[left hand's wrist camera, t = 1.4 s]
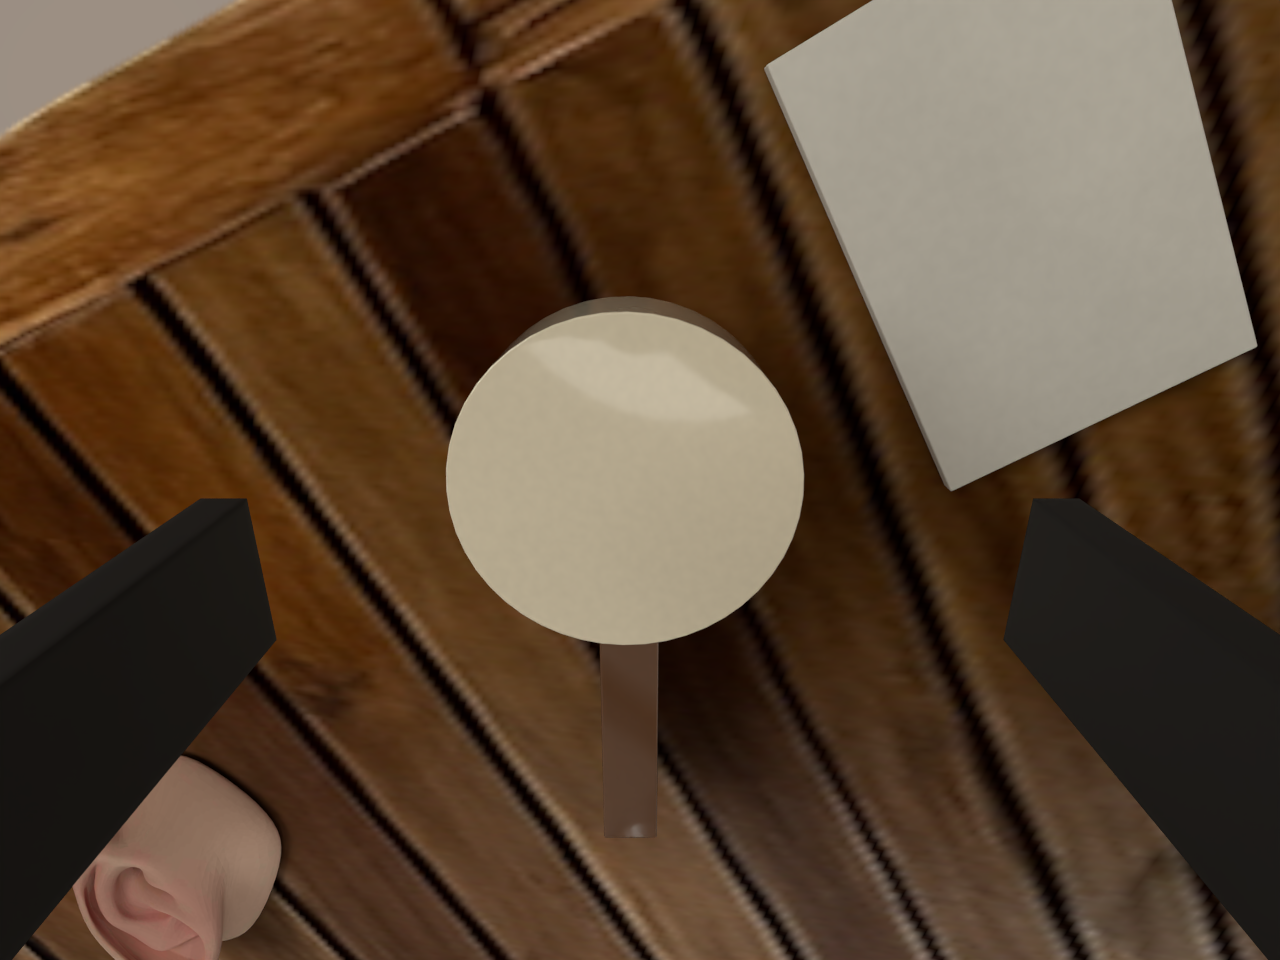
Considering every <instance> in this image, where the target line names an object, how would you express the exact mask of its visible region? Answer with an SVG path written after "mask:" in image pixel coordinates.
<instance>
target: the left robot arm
mask: <svg viewBox="0 0 1280 960" xmlns="http://www.w3.org/2000/svg"><path fill="white" fill-rule="evenodd" d="M275 641H276V635H275V630H274V626H273V621H272V616H271V611H270V607H269V602H268V597H267V592H266V588H265V583H264V578H263V574H262V569H261V564H260V559H259V555H258V550H257V545H256V540H255V536H254V531H253V526H252V521H251V517H250V512H249V507H248V503H247V499H199V500H198V501H197V502H195V503H194V504H192V505H191V506H189V507H188V508H186V509H185V510H183V511H182V512H180V513H179V514H177V515H176V516H174V517H173V518H172V519H170V520H169V521H167V522H166V523H164V524H163V525H161V526H160V527H158V528H157V529H155V530H154V531H152V532H151V533H149V534H148V535H146V536H145V537H144V538H142V539H141V540H139V541H138V542H136V543H135V544H133V545H132V546H130V547H129V548H127V549H126V550H124V551H123V552H121V553H120V554H119V555H117V556H116V557H114V558H113V559H111V560H110V561H108V562H107V563H105V564H104V565H102V566H101V567H99V568H98V569H96V570H95V571H94V572H92V573H91V574H89V575H88V576H86V577H85V578H83V579H82V580H80V581H79V582H77V583H76V584H74V585H73V586H71V587H70V588H69V589H67V590H66V591H64V592H63V593H61V594H60V595H58V596H57V597H55V598H54V599H52V600H51V601H49V602H48V603H46V604H45V605H43V606H42V607H41V608H39V609H38V610H36V611H35V612H33V613H32V614H30V615H29V616H27V617H26V618H24V619H23V620H21V621H20V622H18V623H17V624H16V625H14V626H13V627H11V628H10V629H8V630H7V631H5V632H4V633H2V634H1V635H0V960H12V959H13V958H14V956H15V955H16V954H17V953H18V952H19V950H20V949H21V948H22V947H23V946H24V944H25V943H26V942H27V941H28V940H29V938H30V937H31V936H32V935H33V934H34V932H35V931H36V930H37V929H38V927H39V926H40V925H41V924H42V923H43V921H44V920H45V919H46V918H47V917H48V915H49V914H50V913H51V912H52V911H53V909H54V908H55V907H56V906H57V904H58V903H59V902H60V901H61V900H62V898H63V897H64V896H65V895H66V894H67V892H68V891H69V890H70V889H71V888H72V886H73V885H74V884H75V883H76V882H77V880H78V879H79V878H80V877H81V875H82V874H83V873H84V872H85V871H86V869H87V868H88V867H89V866H90V865H91V863H92V862H93V861H94V860H95V859H96V857H97V856H98V855H99V854H100V852H101V851H102V850H103V849H104V848H105V846H106V845H107V844H108V843H109V842H110V840H111V839H112V838H113V837H114V836H115V834H116V833H117V832H118V831H119V830H120V828H121V827H122V826H123V825H124V823H125V822H126V821H127V820H128V819H129V817H130V816H131V815H132V814H133V813H134V811H135V810H136V809H137V808H138V807H139V805H140V804H141V803H142V802H143V800H144V799H145V798H146V797H147V796H148V794H149V793H150V792H151V791H152V790H153V788H154V787H155V786H156V785H157V784H158V782H159V781H160V780H161V779H162V778H163V776H164V775H165V774H166V773H167V771H168V770H169V769H170V768H171V767H172V765H173V764H174V763H175V762H176V761H177V759H178V758H179V757H180V756H181V755H182V753H183V752H184V751H185V750H186V748H187V747H188V746H189V745H190V744H191V742H192V741H193V740H194V739H195V738H196V736H197V735H198V734H199V733H200V732H201V730H202V729H203V728H204V727H205V726H206V724H207V723H208V722H209V721H210V719H211V718H212V717H213V716H214V715H215V713H216V712H217V711H218V710H219V709H220V707H221V706H222V705H223V704H224V703H225V701H226V700H227V699H228V698H229V697H230V695H231V694H232V693H233V692H234V690H235V689H236V688H237V687H238V686H239V684H240V683H241V682H242V681H243V680H244V678H245V677H246V676H247V675H248V674H249V672H250V671H251V670H252V669H253V667H254V666H255V665H256V664H257V663H258V661H259V660H260V659H261V658H262V657H263V655H264V654H265V653H266V652H267V651H268V649H269V648H270V647H271V646H272V645H273V643H274V642H275ZM1004 641H1005V642H1006V643H1007V645H1008V646H1009V647H1010V648H1011V649H1012V651H1013V652H1014V653H1015V654H1016V655H1017V657H1018V658H1019V659H1020V660H1021V661H1022V663H1023V664H1024V665H1025V666H1026V667H1027V669H1028V670H1029V671H1030V672H1031V674H1032V675H1033V676H1034V677H1035V678H1036V680H1037V681H1038V682H1039V683H1040V684H1041V686H1042V687H1043V688H1044V689H1045V690H1046V692H1047V693H1048V694H1049V695H1050V697H1051V698H1052V699H1053V700H1054V701H1055V703H1056V704H1057V705H1058V706H1059V707H1060V709H1061V710H1062V711H1063V712H1064V713H1065V715H1066V716H1067V717H1068V718H1069V719H1070V721H1071V722H1072V723H1073V724H1074V726H1075V727H1076V728H1077V729H1078V730H1079V732H1080V733H1081V734H1082V735H1083V736H1084V738H1085V739H1086V740H1087V741H1088V742H1089V744H1090V745H1091V746H1092V747H1093V748H1094V750H1095V751H1096V752H1097V753H1098V755H1099V756H1100V757H1101V758H1102V759H1103V761H1104V762H1105V763H1106V764H1107V765H1108V767H1109V768H1110V769H1111V770H1112V771H1113V773H1114V774H1115V775H1116V776H1117V778H1118V779H1119V780H1120V781H1121V782H1122V784H1123V785H1124V786H1125V787H1126V788H1127V790H1128V791H1129V792H1130V793H1131V794H1132V796H1133V797H1134V798H1135V799H1136V800H1137V802H1138V803H1139V804H1140V805H1141V807H1142V808H1143V809H1144V810H1145V811H1146V813H1147V814H1148V815H1149V816H1150V817H1151V819H1152V820H1153V821H1154V822H1155V823H1156V825H1157V826H1158V827H1159V828H1160V830H1161V831H1162V832H1163V833H1164V834H1165V836H1166V837H1167V838H1168V839H1169V840H1170V842H1171V843H1172V844H1173V845H1174V846H1175V848H1176V849H1177V850H1178V851H1179V852H1180V854H1181V855H1182V856H1183V857H1184V859H1185V860H1186V861H1187V862H1188V863H1189V865H1190V866H1191V867H1192V868H1193V869H1194V871H1195V872H1196V873H1197V874H1198V875H1199V877H1200V878H1201V879H1202V880H1203V882H1204V883H1205V884H1206V885H1207V886H1208V888H1209V889H1210V890H1211V891H1212V892H1213V894H1214V895H1215V896H1216V897H1217V898H1218V900H1219V901H1220V902H1221V903H1222V904H1223V906H1224V907H1225V908H1226V909H1227V911H1228V912H1229V913H1230V914H1231V915H1232V917H1233V918H1234V919H1235V920H1236V921H1237V923H1238V924H1239V925H1240V926H1241V927H1242V929H1243V930H1244V931H1245V932H1246V934H1247V935H1248V936H1249V937H1250V938H1251V940H1252V941H1253V942H1254V943H1255V944H1256V946H1257V947H1258V948H1259V949H1260V950H1261V952H1262V953H1263V954H1264V955H1265V956H1266V958H1267V959H1268V960H1280V635H1279V634H1278V633H1276V632H1275V631H1273V630H1272V629H1270V628H1269V627H1267V626H1266V625H1264V624H1263V623H1262V622H1260V621H1259V620H1257V619H1256V618H1254V617H1253V616H1251V615H1250V614H1248V613H1247V612H1245V611H1244V610H1242V609H1241V608H1239V607H1238V606H1237V605H1235V604H1234V603H1232V602H1231V601H1229V600H1228V599H1226V598H1225V597H1223V596H1222V595H1220V594H1219V593H1217V592H1216V591H1214V590H1213V589H1211V588H1210V587H1209V586H1207V585H1206V584H1204V583H1203V582H1201V581H1200V580H1198V579H1197V578H1195V577H1194V576H1192V575H1191V574H1189V573H1188V572H1186V571H1185V570H1184V569H1182V568H1181V567H1179V566H1178V565H1176V564H1175V563H1173V562H1172V561H1170V560H1169V559H1167V558H1166V557H1164V556H1163V555H1161V554H1160V553H1159V552H1157V551H1156V550H1154V549H1153V548H1151V547H1150V546H1148V545H1147V544H1145V543H1144V542H1142V541H1141V540H1139V539H1138V538H1136V537H1135V536H1134V535H1132V534H1131V533H1129V532H1128V531H1126V530H1125V529H1123V528H1122V527H1120V526H1119V525H1117V524H1116V523H1114V522H1113V521H1111V520H1110V519H1108V518H1107V517H1106V516H1104V515H1103V514H1101V513H1100V512H1098V511H1097V510H1095V509H1094V508H1092V507H1091V506H1089V505H1088V504H1086V503H1085V502H1083V501H1082V500H1081V499H1033V503H1032V507H1031V512H1030V517H1029V521H1028V526H1027V531H1026V536H1025V540H1024V545H1023V550H1022V555H1021V559H1020V564H1019V569H1018V574H1017V578H1016V583H1015V588H1014V592H1013V597H1012V602H1011V607H1010V611H1009V616H1008V621H1007V626H1006V630H1005V635H1004Z"/></svg>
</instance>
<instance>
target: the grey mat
mask: <svg viewBox="0 0 1280 960" xmlns="http://www.w3.org/2000/svg"><path fill="white" fill-rule="evenodd" d="M764 69H765V72H766V74H767V77H768V79H769V81H770V84H771V86H772V88H773V91H774V93H775V95H776V98H777V100H778V102H779V104H780V107H781V109H782V111H783V114H784V116H785V118H786V121H787V123H788V125H789V128H790V130H791V132H792V134H793V137H794V139H795V141H796V144H797V146H798V148H799V151H800V153H801V155H802V158H803V160H804V162H805V164H806V167H807V169H808V171H809V174H810V176H811V178H812V181H813V183H814V185H815V188H816V190H817V192H818V195H819V197H820V199H821V201H822V204H823V206H824V208H825V211H826V213H827V215H828V218H829V220H830V222H831V225H832V227H833V229H834V231H835V234H836V236H837V238H838V241H839V243H840V245H841V248H842V250H843V252H844V255H845V257H846V259H847V261H848V264H849V266H850V268H851V271H852V273H853V275H854V278H855V280H856V282H857V285H858V287H859V289H860V291H861V294H862V296H863V298H864V301H865V303H866V305H867V308H868V310H869V312H870V315H871V317H872V319H873V321H874V324H875V326H876V328H877V331H878V333H879V335H880V338H881V340H882V342H883V345H884V347H885V349H886V351H887V354H888V356H889V358H890V361H891V363H892V365H893V368H894V370H895V372H896V375H897V377H898V379H899V381H900V384H901V386H902V388H903V391H904V393H905V395H906V398H907V400H908V402H909V405H910V407H911V409H912V411H913V414H914V416H915V418H916V421H917V423H918V425H919V428H920V430H921V432H922V435H923V437H924V439H925V441H926V444H927V446H928V448H929V451H930V453H931V455H932V458H933V460H934V462H935V465H936V467H937V469H938V471H939V474H940V476H941V478H942V481H943V483H944V485H945V486H946V487H947V488H948V489H949V490H950V491H953V490H955V489H957V488H960V487H962V486H964V485H966V484H968V483H970V482H972V481H974V480H976V479H979V478H981V477H983V476H985V475H987V474H989V473H991V472H993V471H995V470H998V469H1000V468H1002V467H1004V466H1006V465H1008V464H1010V463H1012V462H1014V461H1017V460H1019V459H1021V458H1023V457H1025V456H1027V455H1029V454H1031V453H1034V452H1036V451H1038V450H1040V449H1042V448H1044V447H1046V446H1048V445H1050V444H1053V443H1055V442H1057V441H1059V440H1061V439H1063V438H1065V437H1067V436H1069V435H1072V434H1074V433H1076V432H1078V431H1080V430H1082V429H1084V428H1086V427H1088V426H1091V425H1093V424H1095V423H1097V422H1099V421H1101V420H1103V419H1105V418H1107V417H1110V416H1112V415H1114V414H1116V413H1118V412H1120V411H1122V410H1124V409H1126V408H1129V407H1131V406H1133V405H1135V404H1137V403H1139V402H1141V401H1143V400H1146V399H1148V398H1150V397H1152V396H1154V395H1156V394H1158V393H1160V392H1162V391H1165V390H1167V389H1169V388H1171V387H1173V386H1175V385H1177V384H1179V383H1181V382H1184V381H1186V380H1188V379H1190V378H1192V377H1194V376H1196V375H1198V374H1200V373H1203V372H1205V371H1207V370H1209V369H1211V368H1213V367H1215V366H1217V365H1219V364H1222V363H1224V362H1226V361H1228V360H1230V359H1232V358H1234V357H1236V356H1239V355H1241V354H1243V353H1245V352H1247V351H1249V350H1251V349H1253V348H1255V347H1257V342H1256V338H1255V334H1254V330H1253V326H1252V322H1251V318H1250V314H1249V310H1248V306H1247V302H1246V298H1245V294H1244V290H1243V286H1242V282H1241V278H1240V274H1239V270H1238V266H1237V262H1236V258H1235V254H1234V250H1233V246H1232V242H1231V238H1230V233H1229V229H1228V225H1227V221H1226V217H1225V213H1224V209H1223V205H1222V201H1221V197H1220V193H1219V189H1218V185H1217V181H1216V177H1215V173H1214V169H1213V165H1212V161H1211V157H1210V153H1209V149H1208V145H1207V141H1206V137H1205V133H1204V129H1203V125H1202V121H1201V117H1200V113H1199V109H1198V105H1197V100H1196V96H1195V92H1194V88H1193V84H1192V80H1191V76H1190V72H1189V68H1188V64H1187V60H1186V56H1185V52H1184V48H1183V44H1182V40H1181V36H1180V32H1179V28H1178V24H1177V20H1176V16H1175V12H1174V8H1173V4H1172V0H872V1H871V2H869V3H867V4H866V5H864V6H862V7H861V8H859V9H858V10H856V11H854V12H853V13H851V14H849V15H848V16H846V17H844V18H843V19H841V20H840V21H838V22H836V23H835V24H833V25H831V26H830V27H828V28H826V29H825V30H823V31H822V32H820V33H818V34H817V35H815V36H813V37H812V38H810V39H808V40H807V41H805V42H803V43H802V44H800V45H799V46H797V47H795V48H794V49H792V50H790V51H789V52H787V53H785V54H784V55H782V56H781V57H779V58H777V59H776V60H774V61H772V62H771V63H769V64H768V65H767V66H766V67H765V68H764Z"/></svg>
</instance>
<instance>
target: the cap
mask: <svg viewBox="0 0 1280 960" xmlns="http://www.w3.org/2000/svg"><path fill="white" fill-rule="evenodd" d="M446 491H447V497H448V504H449V510H450V514H451V517H452V521H453V524H454V527H455V531H456V533H457V536H458V538H459V540H460V542H461V544H462V547H463V549H464V551H465V553H466V554H467V556H468V558H469V559H470V561H471V562H472V564H473V566H474V567H475V569H476V570H477V572H478V573H479V574H480V575H481V577H482V578H483V579H484V580H485V581H486V583H487V584H488V585H489V586H490V587H491V588H492V589H493V590H494V591H495V592H496V593H497V594H498V595H499V596H500V597H501V598H502V599H503V600H504V601H505V602H507V603H508V604H509V605H511V606H512V607H513V608H515V609H516V610H517V611H519V612H520V613H521V614H523V615H525V616H526V617H528V618H530V619H531V620H533V621H535V622H537V623H538V624H540V625H542V626H544V627H547V628H549V629H551V630H554V631H556V632H558V633H561V634H564V635H567V636H571V637H574V638H577V639H580V640H586V641H591V642H596V643H602V644H615V645H638V644H650V643H656V642H663V641H668V640H671V639H675V638H679V637H682V636H686V635H689V634H691V633H694V632H696V631H699V630H701V629H704V628H706V627H708V626H710V625H712V624H714V623H716V622H717V621H719V620H721V619H723V618H725V617H726V616H728V615H729V614H731V613H732V612H733V611H735V610H736V609H738V608H739V607H741V606H742V605H743V604H744V603H745V602H746V601H748V600H749V599H750V598H751V597H752V596H753V595H754V594H755V593H756V592H757V591H759V589H760V588H761V587H762V586H763V585H764V584H765V582H766V581H767V580H768V579H769V578H770V577H771V575H772V574H773V572H774V571H775V569H776V568H777V566H778V565H779V563H780V562H781V560H782V559H783V557H784V555H785V553H786V551H787V549H788V547H789V545H790V543H791V541H792V539H793V536H794V533H795V530H796V527H797V524H798V521H799V518H800V513H801V507H802V501H803V496H804V467H803V457H802V450H801V446H800V442H799V438H798V434H797V430H796V428H795V425H794V423H793V421H792V418H791V416H790V413H789V411H788V409H787V407H786V405H785V404H784V402H783V400H782V398H781V397H780V395H779V393H778V392H777V390H776V388H775V387H774V386H773V384H772V383H771V381H770V380H769V379H768V377H767V376H766V374H765V373H764V372H763V370H762V369H761V367H760V366H759V365H758V363H757V362H756V361H755V360H754V358H753V357H752V356H751V355H750V353H749V352H748V351H747V350H746V348H745V347H744V346H743V345H742V344H740V343H739V342H738V341H737V340H736V339H735V338H734V337H733V336H732V335H731V334H730V333H729V332H727V331H726V330H724V329H723V328H722V327H720V326H719V325H718V324H716V323H715V322H713V321H712V320H710V319H708V318H706V317H704V316H702V315H700V314H699V313H697V312H695V311H693V310H690V309H687V308H685V307H682V306H679V305H677V304H674V303H670V302H666V301H661V300H657V299H652V298H642V297H630V296H626V297H607V298H601V299H596V300H590V301H585V302H582V303H579V304H576V305H573V306H570V307H567V308H564V309H562V310H560V311H558V312H556V313H554V314H552V315H550V316H548V317H546V318H544V319H542V320H541V321H539V322H538V323H536V324H535V325H533V326H532V327H530V328H529V329H528V330H526V331H525V332H524V333H523V334H522V335H521V336H520V337H518V338H517V339H516V340H515V341H514V342H513V343H512V344H511V345H510V346H509V347H508V348H507V349H506V350H505V351H504V353H503V354H502V355H501V356H500V357H499V358H498V359H497V360H496V361H495V363H494V364H493V365H492V366H491V367H490V368H489V369H488V371H487V372H486V373H485V374H484V375H483V377H482V378H481V379H480V380H479V381H478V383H477V384H476V385H475V387H474V388H473V390H472V392H471V393H470V395H469V396H468V398H467V400H466V401H465V403H464V405H463V407H462V409H461V412H460V414H459V416H458V419H457V421H456V423H455V426H454V429H453V433H452V437H451V440H450V444H449V449H448V457H447V465H446Z"/></svg>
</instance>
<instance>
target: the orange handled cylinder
mask: <svg viewBox="0 0 1280 960" xmlns="http://www.w3.org/2000/svg"><path fill="white" fill-rule="evenodd" d="M658 665H659V642H656V643H650V644H638V645H615V644H602V643H600V672H601V715H602V758H603V801H604V836H605V837H612V838H655V837H656V836H657V756H658Z"/></svg>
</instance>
